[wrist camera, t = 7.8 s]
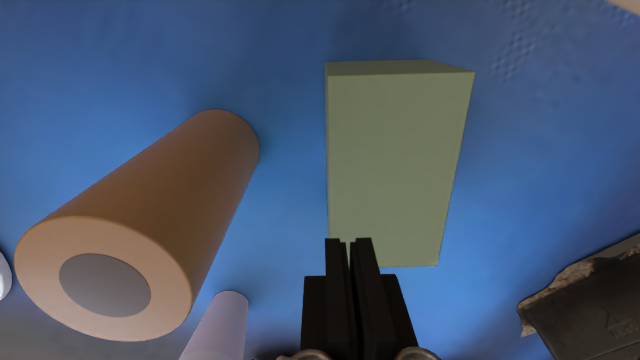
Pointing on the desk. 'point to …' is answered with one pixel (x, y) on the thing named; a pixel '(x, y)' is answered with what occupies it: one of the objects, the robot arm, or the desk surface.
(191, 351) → the smoothie
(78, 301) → the paper roll
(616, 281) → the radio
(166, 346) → the desk surface
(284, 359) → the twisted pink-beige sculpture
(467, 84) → the green block
